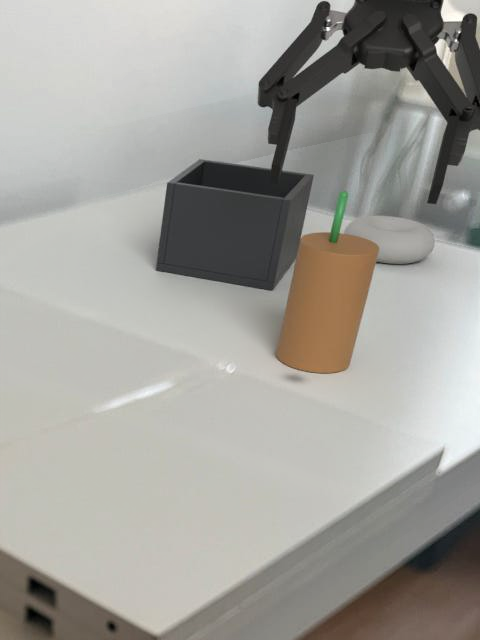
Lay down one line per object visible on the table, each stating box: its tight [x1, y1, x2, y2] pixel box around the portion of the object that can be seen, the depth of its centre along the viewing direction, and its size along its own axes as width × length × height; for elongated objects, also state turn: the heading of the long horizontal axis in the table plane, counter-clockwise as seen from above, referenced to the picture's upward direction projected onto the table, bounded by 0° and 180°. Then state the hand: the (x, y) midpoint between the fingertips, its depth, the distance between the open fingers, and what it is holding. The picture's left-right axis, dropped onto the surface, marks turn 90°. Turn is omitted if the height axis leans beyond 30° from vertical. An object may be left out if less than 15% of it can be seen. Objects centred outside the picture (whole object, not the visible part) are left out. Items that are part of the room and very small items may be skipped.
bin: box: [155, 158, 315, 291], centre depth 110 cm, size 13×13×9 cm
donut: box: [343, 215, 436, 265], centre depth 117 cm, size 10×4×10 cm
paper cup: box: [275, 190, 379, 374], centre depth 87 cm, size 6×6×14 cm
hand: (353, 185), depth 90 cm, fingers open, 13 cm apart
